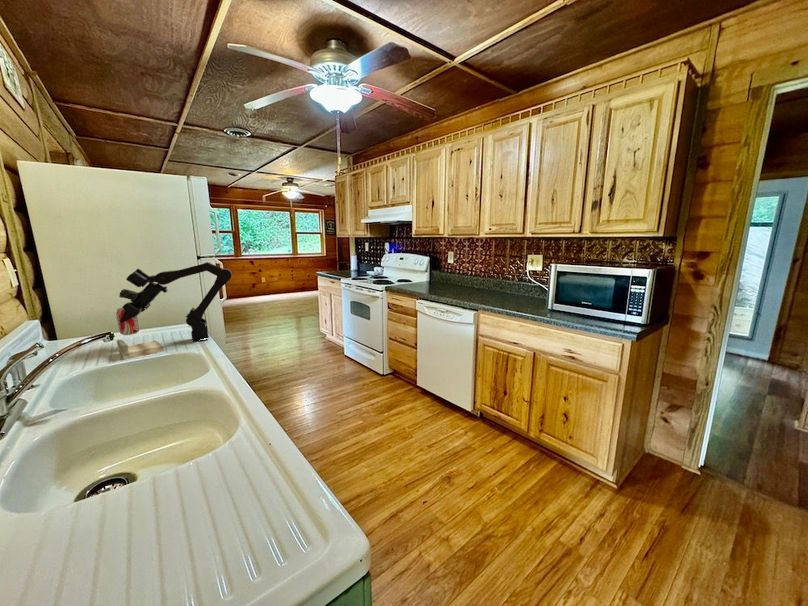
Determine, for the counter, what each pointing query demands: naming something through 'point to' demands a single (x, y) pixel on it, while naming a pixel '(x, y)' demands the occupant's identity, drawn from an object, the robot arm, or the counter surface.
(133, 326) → the soda can
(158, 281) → the robot arm
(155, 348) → the cleat stand
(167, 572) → the counter surface
